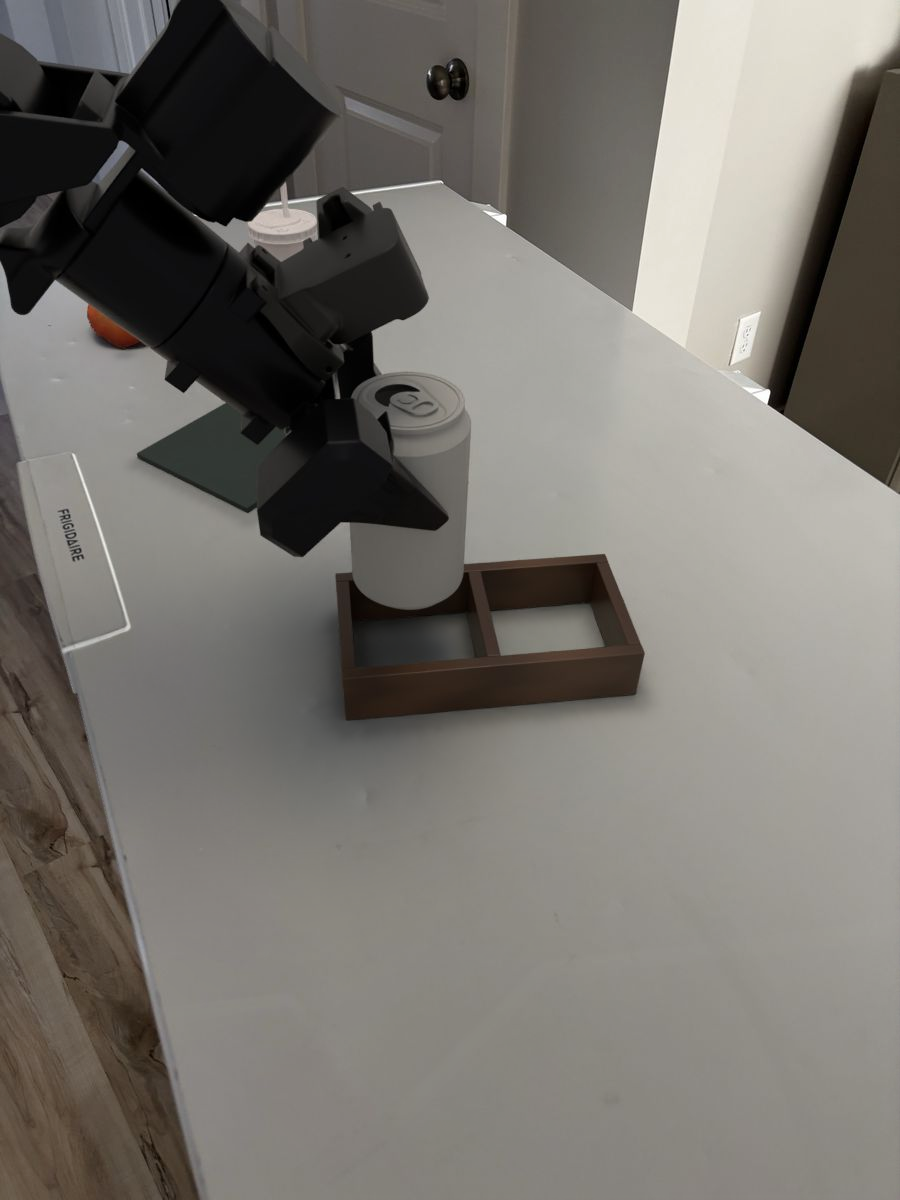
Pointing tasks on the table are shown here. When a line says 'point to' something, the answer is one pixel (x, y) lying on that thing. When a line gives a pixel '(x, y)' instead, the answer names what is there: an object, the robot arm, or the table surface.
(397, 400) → the beverage can
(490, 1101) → the table surface
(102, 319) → the tomato
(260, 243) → the smoothie
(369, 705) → the stand
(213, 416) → the mat
